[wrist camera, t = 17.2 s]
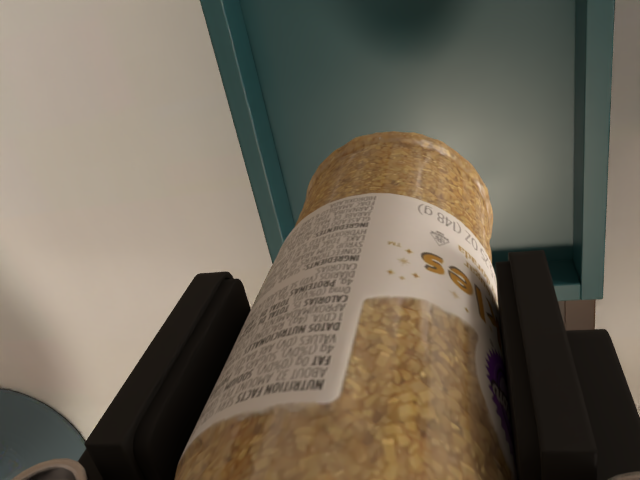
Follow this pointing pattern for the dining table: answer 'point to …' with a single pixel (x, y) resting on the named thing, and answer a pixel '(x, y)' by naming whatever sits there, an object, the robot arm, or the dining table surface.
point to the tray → (433, 106)
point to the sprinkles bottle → (370, 333)
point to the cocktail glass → (33, 434)
